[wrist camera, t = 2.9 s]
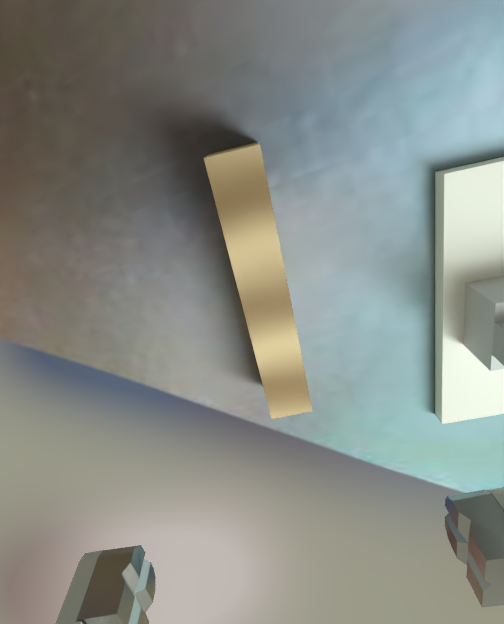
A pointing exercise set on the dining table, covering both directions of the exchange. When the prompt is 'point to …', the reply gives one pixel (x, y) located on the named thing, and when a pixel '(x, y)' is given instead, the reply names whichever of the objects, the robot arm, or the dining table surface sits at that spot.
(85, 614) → the robot arm
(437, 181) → the fulcrum stand
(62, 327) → the dining table surface
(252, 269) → the pine bar
